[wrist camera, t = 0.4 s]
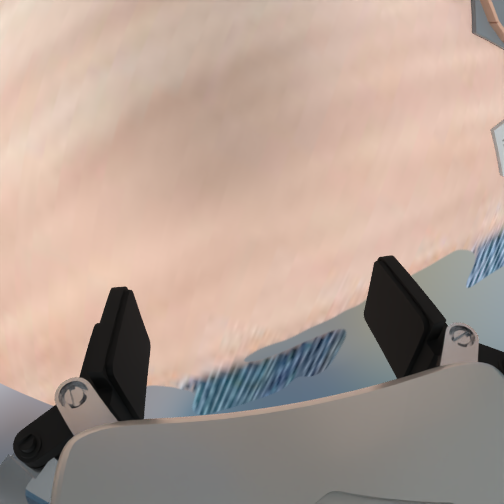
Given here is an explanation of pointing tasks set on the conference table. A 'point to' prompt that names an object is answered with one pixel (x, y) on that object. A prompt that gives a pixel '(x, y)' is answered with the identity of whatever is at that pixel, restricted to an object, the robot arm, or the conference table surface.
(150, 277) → the conference table surface
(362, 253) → the conference table surface
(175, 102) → the conference table surface
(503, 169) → the plaque
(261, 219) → the conference table surface
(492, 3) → the ring holder
